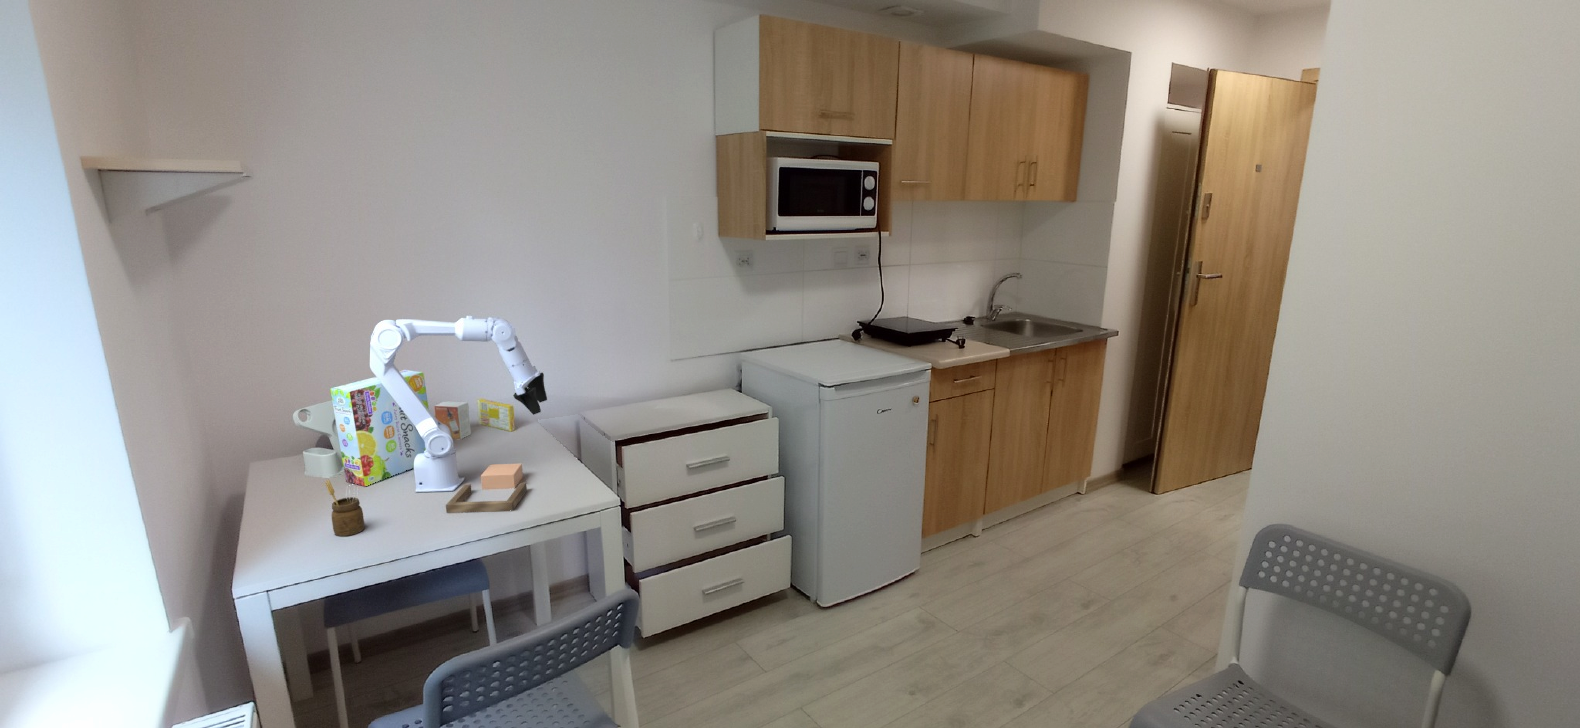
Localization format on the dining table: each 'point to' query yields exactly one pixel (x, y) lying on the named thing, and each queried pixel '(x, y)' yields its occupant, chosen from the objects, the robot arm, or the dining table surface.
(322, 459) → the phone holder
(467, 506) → the brown u-shaped wooden frame
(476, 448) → the dining table surface
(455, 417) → the small box
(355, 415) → the snack box
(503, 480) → the carton
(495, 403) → the candy box
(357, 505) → the utensil holder
